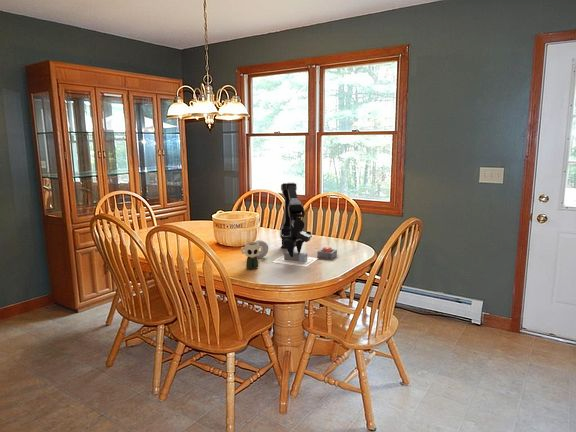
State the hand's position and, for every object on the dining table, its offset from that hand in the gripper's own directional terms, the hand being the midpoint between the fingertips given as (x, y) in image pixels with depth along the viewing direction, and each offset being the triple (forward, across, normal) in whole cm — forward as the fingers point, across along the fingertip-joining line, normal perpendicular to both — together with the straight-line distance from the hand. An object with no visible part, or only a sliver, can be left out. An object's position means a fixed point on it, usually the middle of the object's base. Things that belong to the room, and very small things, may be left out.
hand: (295, 254), depth 230 cm
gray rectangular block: (+3, 0, 0) cm, 3 cm away
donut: (+3, -4, +20) cm, 21 cm away
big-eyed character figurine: (+3, -22, +14) cm, 26 cm away
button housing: (+3, +14, -13) cm, 19 cm away
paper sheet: (+3, 0, 0) cm, 3 cm away
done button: (+2, +14, -13) cm, 19 cm away
